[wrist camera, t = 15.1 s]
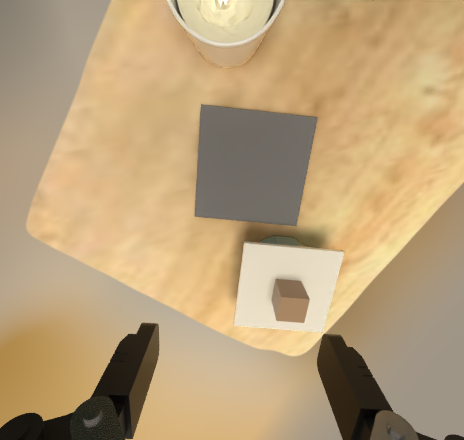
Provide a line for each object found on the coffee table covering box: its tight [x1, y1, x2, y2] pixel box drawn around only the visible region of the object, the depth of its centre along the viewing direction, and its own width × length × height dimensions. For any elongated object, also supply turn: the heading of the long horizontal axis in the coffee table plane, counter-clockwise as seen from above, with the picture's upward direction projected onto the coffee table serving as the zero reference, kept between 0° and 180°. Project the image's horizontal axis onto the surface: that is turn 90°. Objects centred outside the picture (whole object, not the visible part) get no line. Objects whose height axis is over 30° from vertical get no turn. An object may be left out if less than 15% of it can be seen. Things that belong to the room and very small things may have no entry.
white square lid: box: [234, 241, 344, 333], centre depth 34 cm, size 13×13×5 cm
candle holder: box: [167, 0, 285, 68], centre depth 25 cm, size 10×10×12 cm
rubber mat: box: [195, 105, 318, 226], centre depth 36 cm, size 15×15×1 cm
